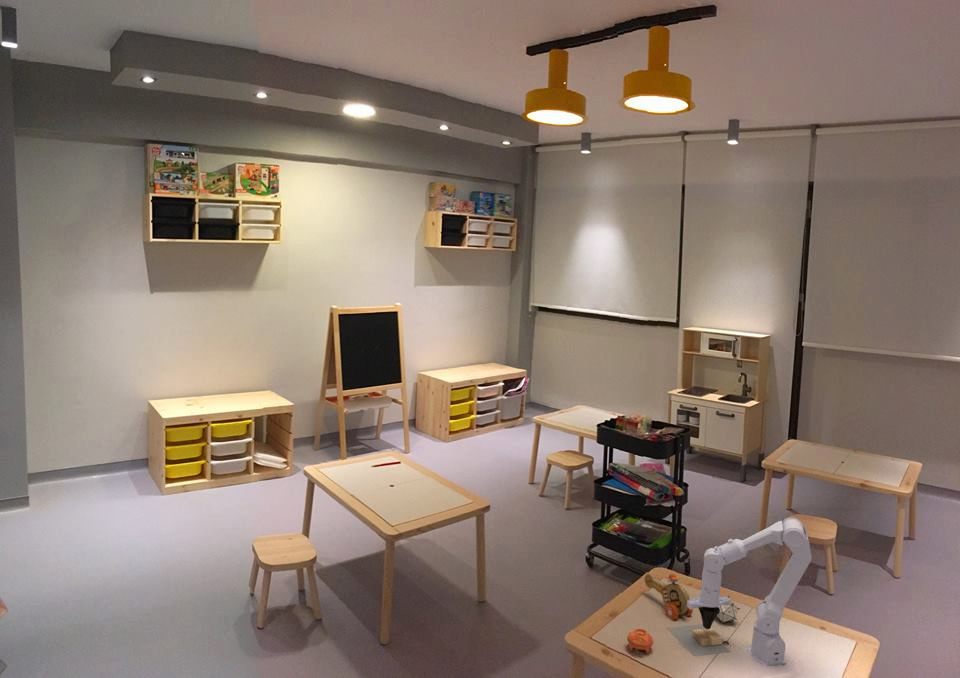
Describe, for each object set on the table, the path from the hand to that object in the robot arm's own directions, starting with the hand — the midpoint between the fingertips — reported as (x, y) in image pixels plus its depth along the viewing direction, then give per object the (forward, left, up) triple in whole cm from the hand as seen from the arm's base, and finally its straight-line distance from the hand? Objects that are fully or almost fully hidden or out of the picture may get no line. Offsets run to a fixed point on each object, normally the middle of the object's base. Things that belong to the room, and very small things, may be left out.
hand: (706, 627), depth 220 cm
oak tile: (0, +3, -3) cm, 4 cm away
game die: (+10, -14, -5) cm, 18 cm away
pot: (0, +23, -5) cm, 24 cm away
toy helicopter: (+21, +1, -5) cm, 22 cm away
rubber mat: (+1, +2, -5) cm, 5 cm away
